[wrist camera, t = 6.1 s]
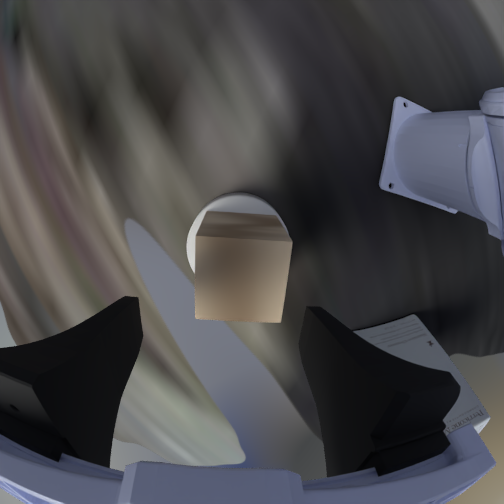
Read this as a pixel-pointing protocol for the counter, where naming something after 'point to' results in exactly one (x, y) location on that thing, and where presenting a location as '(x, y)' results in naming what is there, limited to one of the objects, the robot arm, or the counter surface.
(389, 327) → the skincare box
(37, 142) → the counter surface
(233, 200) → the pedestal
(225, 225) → the beech block
